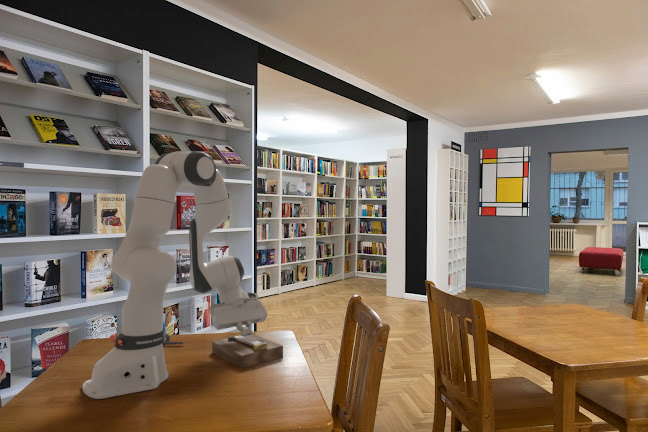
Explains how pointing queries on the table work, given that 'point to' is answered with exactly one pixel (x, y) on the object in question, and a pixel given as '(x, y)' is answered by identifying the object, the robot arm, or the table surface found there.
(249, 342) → the strap
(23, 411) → the table surface
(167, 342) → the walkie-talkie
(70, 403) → the table surface
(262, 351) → the base
